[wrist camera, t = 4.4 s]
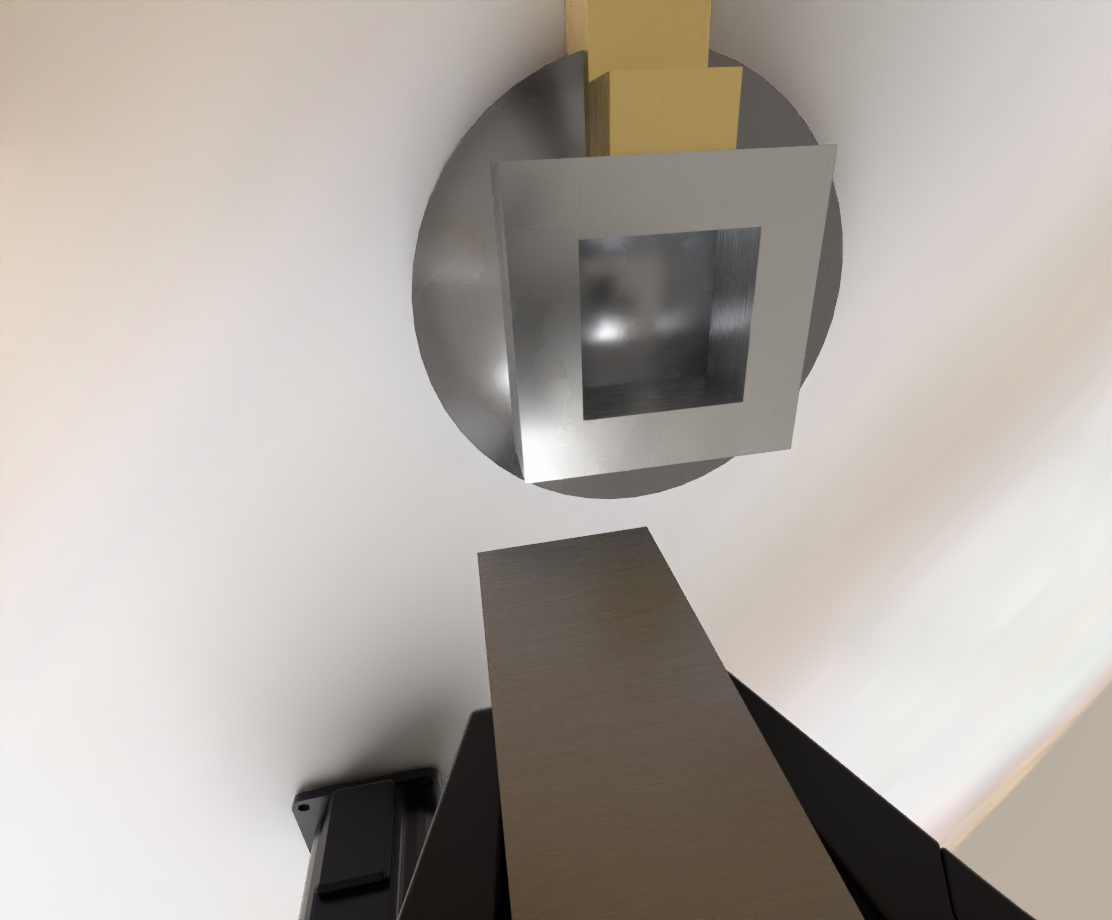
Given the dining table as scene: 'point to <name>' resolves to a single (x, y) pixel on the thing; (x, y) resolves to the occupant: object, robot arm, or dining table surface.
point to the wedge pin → (634, 750)
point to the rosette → (629, 260)
